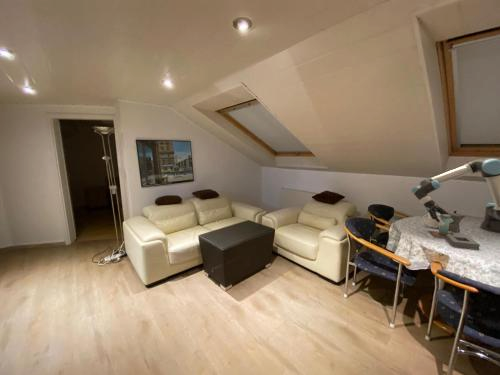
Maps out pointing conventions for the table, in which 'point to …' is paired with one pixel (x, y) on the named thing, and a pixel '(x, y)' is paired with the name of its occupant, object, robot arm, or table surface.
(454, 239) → the housing
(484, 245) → the table surface
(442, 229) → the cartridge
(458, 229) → the coffeepot
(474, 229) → the table surface
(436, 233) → the pad
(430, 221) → the mug
